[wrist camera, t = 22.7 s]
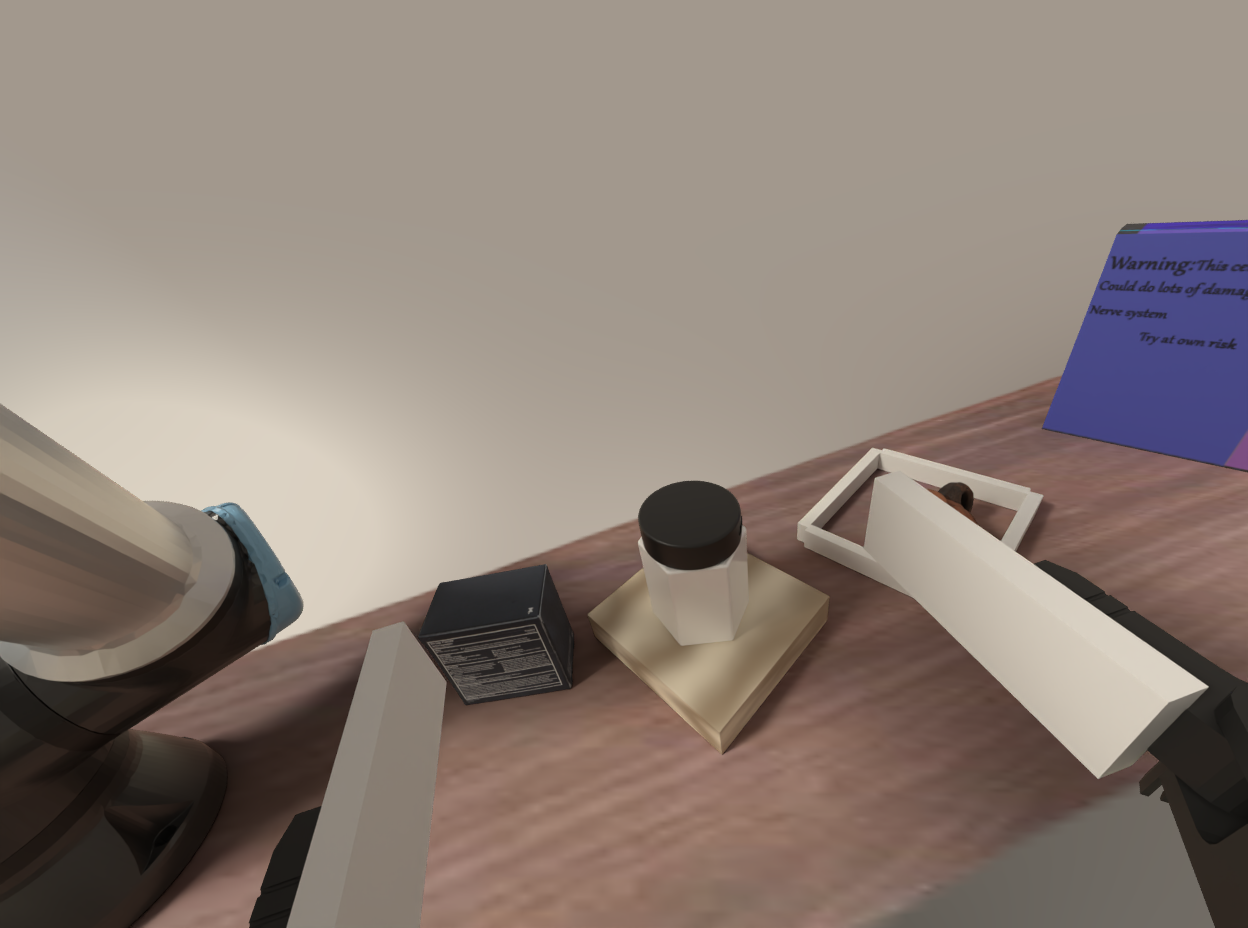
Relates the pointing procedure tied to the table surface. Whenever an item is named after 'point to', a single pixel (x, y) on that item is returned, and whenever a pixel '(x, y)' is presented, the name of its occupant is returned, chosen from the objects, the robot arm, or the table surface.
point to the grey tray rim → (920, 471)
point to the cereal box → (1165, 346)
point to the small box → (500, 635)
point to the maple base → (715, 649)
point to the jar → (695, 560)
